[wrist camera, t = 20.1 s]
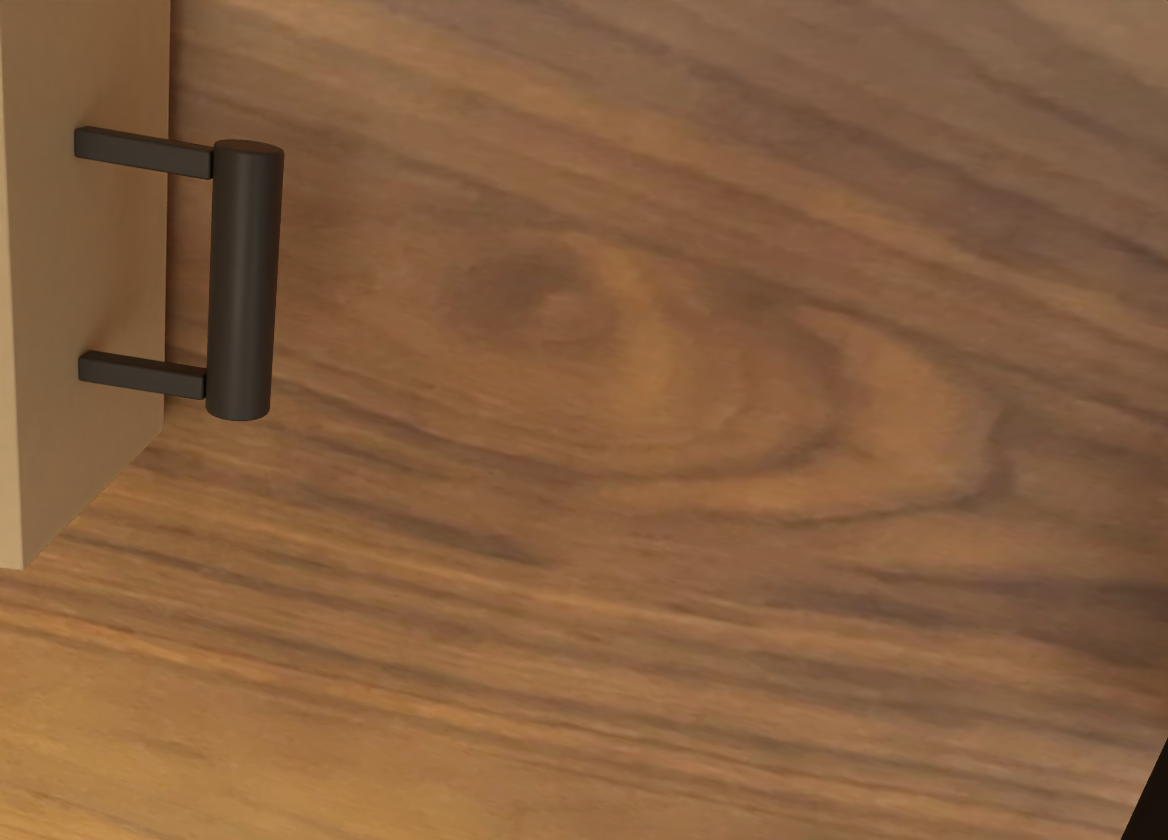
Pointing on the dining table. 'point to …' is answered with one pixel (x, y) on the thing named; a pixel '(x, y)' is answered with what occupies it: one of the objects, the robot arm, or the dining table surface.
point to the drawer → (110, 259)
